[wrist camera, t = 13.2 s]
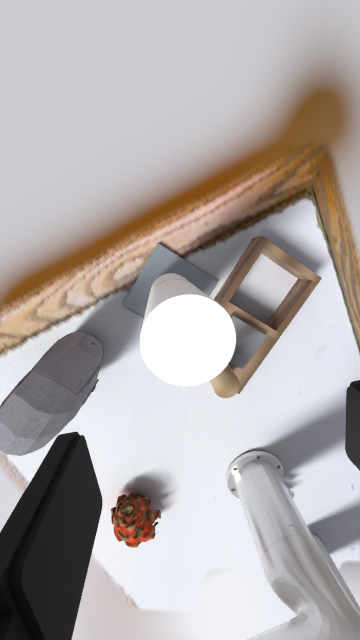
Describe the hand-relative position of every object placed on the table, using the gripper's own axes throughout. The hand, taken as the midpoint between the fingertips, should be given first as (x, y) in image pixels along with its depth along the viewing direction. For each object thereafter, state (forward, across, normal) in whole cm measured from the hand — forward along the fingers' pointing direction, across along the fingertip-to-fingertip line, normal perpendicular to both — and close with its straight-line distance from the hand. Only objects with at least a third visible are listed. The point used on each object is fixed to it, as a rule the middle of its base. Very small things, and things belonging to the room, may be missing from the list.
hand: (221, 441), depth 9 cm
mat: (+36, 0, -1) cm, 36 cm away
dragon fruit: (+36, +14, +44) cm, 58 cm away
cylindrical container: (+35, 0, 0) cm, 35 cm away
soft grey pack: (+36, +18, +9) cm, 41 cm away
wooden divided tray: (+36, -12, +6) cm, 38 cm away
